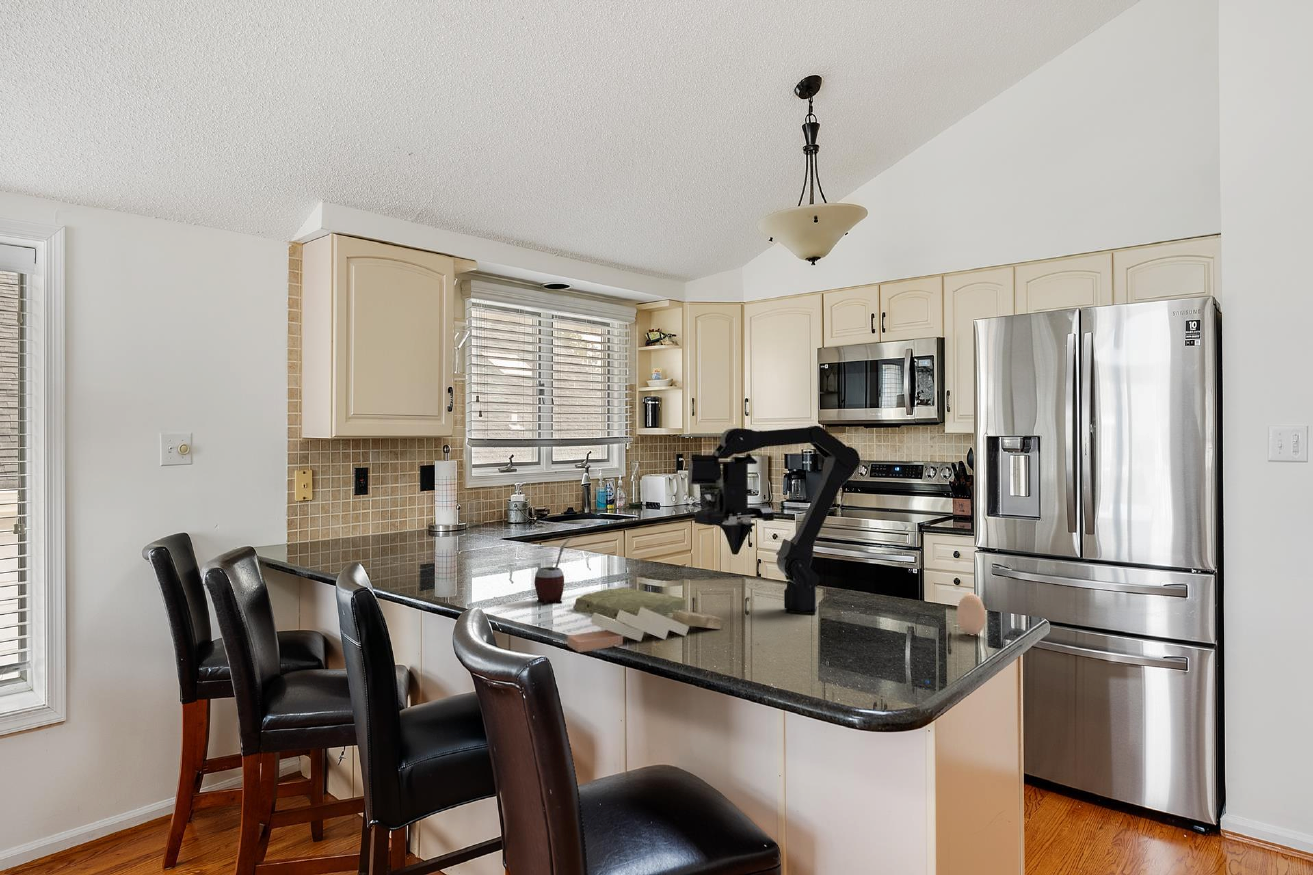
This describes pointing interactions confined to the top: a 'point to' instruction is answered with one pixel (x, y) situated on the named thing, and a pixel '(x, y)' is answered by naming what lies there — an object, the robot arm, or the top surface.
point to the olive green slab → (627, 602)
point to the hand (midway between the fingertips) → (735, 554)
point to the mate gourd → (550, 582)
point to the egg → (971, 614)
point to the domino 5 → (697, 619)
